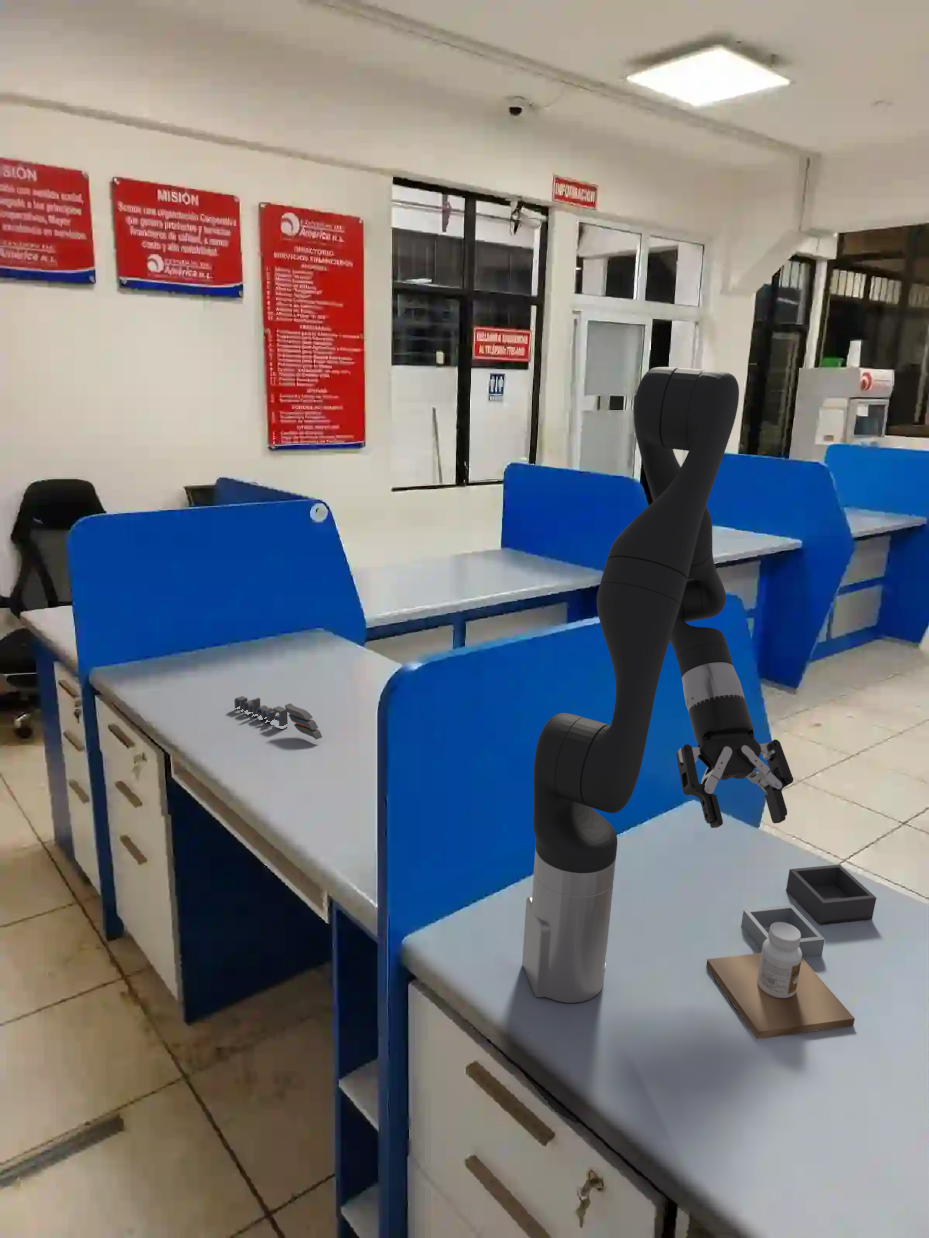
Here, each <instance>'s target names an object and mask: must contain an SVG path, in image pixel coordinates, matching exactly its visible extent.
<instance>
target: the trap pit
mask: <svg viewBox="0 0 929 1238" xmlns="http://www.w3.org/2000/svg"><path fill="white" fill-rule="evenodd" d="M785 891H786V892H787V893H788V895H790V897H792V898H793V900H795V902H796V903H797V904H798V905H799V906H800V907H801V908H802V909H803V910H804V911H805V913H807V914H808V915H809V916H810V917H811V919H813V920H814V922H815V923H816V924H817V925H818V926H819V927H821V926H829V925H830V926H831V925H836V924H837V925H838V924H845V923H847V924H848V923H856V922H867V921H873V916H874V912H875V907H876V902H877V897H876V896H875V894H873V893H872V892H871V891H870V890H869V889H867V888H866V887H865V886H864V884H862V883H861V882H860V881H858V879H856V878H855V877H854V876H853V875H852V874H851V873H850V872H849V871H848V870H846V868H844V867H843V866H842V865H841V864H830V865H821V866H809V867H800V868H798V867H797V868H789V871H788V877H787V883H786V888H785Z"/></svg>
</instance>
